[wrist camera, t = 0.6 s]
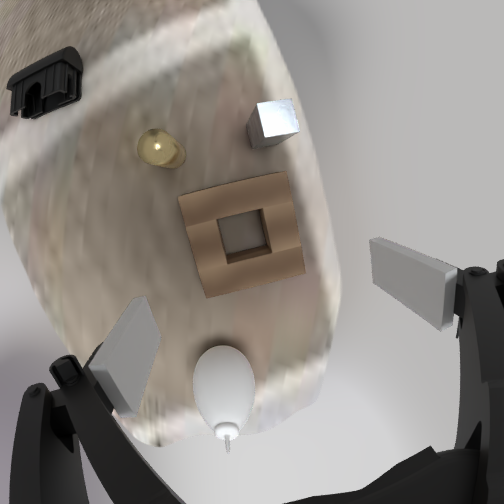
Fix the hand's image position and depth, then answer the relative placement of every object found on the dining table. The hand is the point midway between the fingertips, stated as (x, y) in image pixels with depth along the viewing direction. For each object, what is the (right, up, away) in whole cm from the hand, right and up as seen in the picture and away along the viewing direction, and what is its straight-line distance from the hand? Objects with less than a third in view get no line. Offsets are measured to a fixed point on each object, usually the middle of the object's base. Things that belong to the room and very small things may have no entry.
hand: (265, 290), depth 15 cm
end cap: (-28, +25, +12) cm, 40 cm away
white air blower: (-5, -13, +24) cm, 28 cm away
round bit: (-10, +14, +16) cm, 24 cm away
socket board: (-2, +5, +20) cm, 20 cm away
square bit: (0, +16, +17) cm, 23 cm away
